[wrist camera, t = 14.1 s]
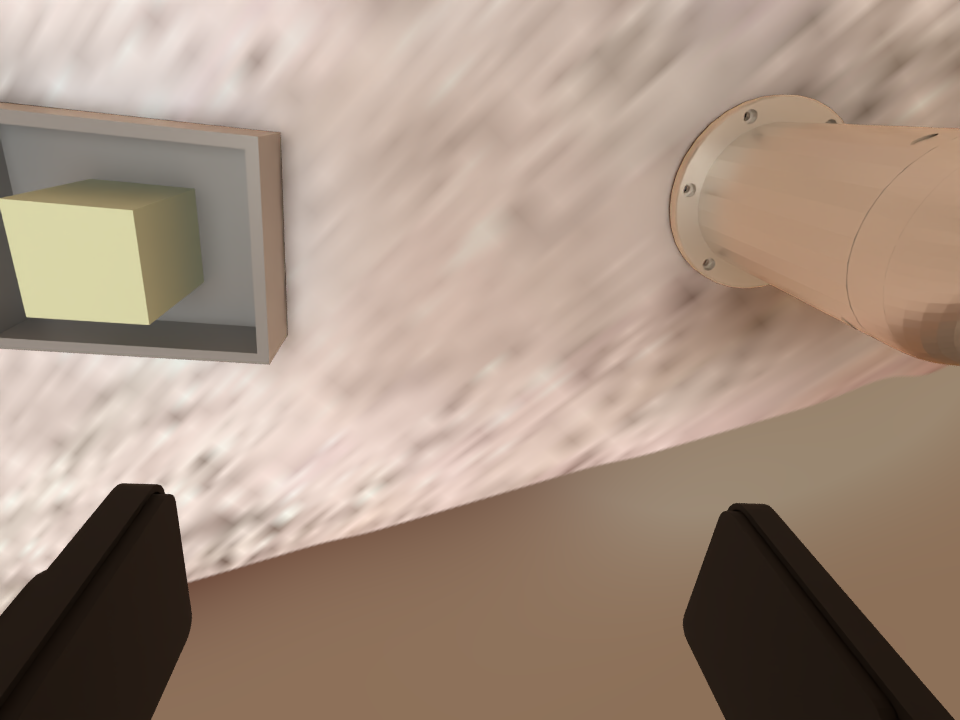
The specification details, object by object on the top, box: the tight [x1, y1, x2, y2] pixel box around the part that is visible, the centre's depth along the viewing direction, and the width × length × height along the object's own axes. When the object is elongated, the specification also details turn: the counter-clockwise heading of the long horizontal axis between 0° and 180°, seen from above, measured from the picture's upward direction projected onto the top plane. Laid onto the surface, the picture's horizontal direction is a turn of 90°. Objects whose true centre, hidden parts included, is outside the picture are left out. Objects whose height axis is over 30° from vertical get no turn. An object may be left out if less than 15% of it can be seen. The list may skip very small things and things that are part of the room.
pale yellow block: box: [0, 179, 204, 325], centre depth 31 cm, size 6×6×8 cm
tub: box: [0, 102, 288, 364], centre depth 33 cm, size 16×13×5 cm
